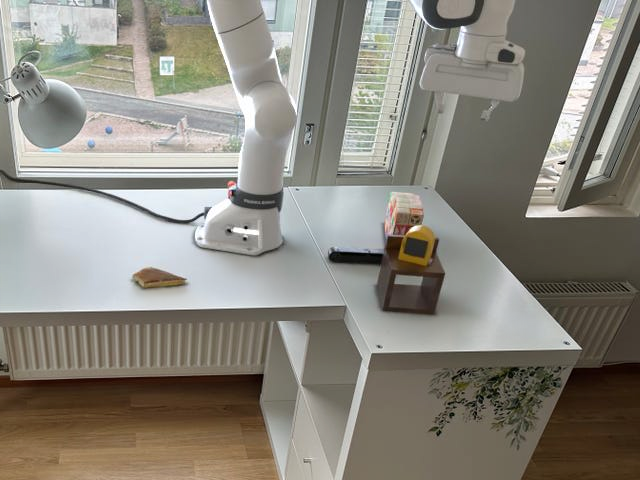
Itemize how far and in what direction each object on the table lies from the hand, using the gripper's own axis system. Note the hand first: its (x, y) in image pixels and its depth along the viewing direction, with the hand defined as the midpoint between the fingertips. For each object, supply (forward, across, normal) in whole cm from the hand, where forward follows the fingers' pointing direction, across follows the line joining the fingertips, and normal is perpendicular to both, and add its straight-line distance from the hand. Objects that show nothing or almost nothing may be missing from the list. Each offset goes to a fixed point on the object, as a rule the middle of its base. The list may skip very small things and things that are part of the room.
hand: (461, 116), depth 150 cm
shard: (+35, -51, -42) cm, 75 cm away
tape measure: (+25, 0, -22) cm, 33 cm away
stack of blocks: (+35, -9, +8) cm, 37 cm away
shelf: (+35, 0, -22) cm, 41 cm away
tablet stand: (+35, -13, -8) cm, 38 cm away
